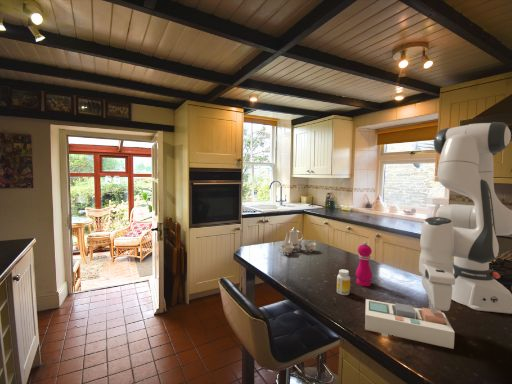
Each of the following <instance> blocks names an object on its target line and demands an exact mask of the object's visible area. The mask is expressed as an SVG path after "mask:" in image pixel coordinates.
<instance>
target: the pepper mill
mask: <svg viewBox="0 0 512 384" xmlns="http://www.w3.org/2000/svg"><path fill="white" fill-rule="evenodd" d="M357 252H358V253H357V254H358V259H359V263H358V267H357V268H356V270H355V277H356V284H357V285H359V286H362V287H369V286H372V285H371V284H372V278H373V273H372V272H373V271H372V269H371V268H370V260H371V255H372V252H373V251H372V248H371V246H370V245H368V243H367V242H366V241H363V242H362V244H360V245H359V246H358V248H357Z"/></svg>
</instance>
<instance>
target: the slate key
mask: <svg viewBox="0 0 512 384" xmlns="http://www.w3.org/2000/svg"><path fill="white" fill-rule="evenodd" d="M394 304H395V314H396V316H401V317H406V318H411V319H415V311H414V308H415V307H414V306H413V305H411V304H410V305H409V304H404V303H398V302H394Z"/></svg>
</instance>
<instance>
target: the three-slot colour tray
mask: <svg viewBox="0 0 512 384" xmlns="http://www.w3.org/2000/svg"><path fill="white" fill-rule="evenodd" d="M370 303H376V304H381V305H386V308H387V314H385V313H380V312H374V311H370ZM413 308H414V311H415V319H411V318H406V317H401V316H396V314H395V303H390V302H383V301H379V300H377V301H376V300H373V299H367V298H365V310H364V311H365V314H364V316H365V317H364V318H365V319H364V320H365V321H364V322H365V323H364V330H366V331H370V332H375V333H379V334H384V335H388V334H389V335H388V336H392V335H393V337H398V338H403V339H406V340H412V341H416V342H421V343H426V344H429V345H434V346H438V347H443V348H448V349H453V350H455V348H454V347H455V333H456V332H455V331H454V329H453V327H452V325H451V324H450V322H449V320H448V318H447V316H446V314H445V313H444V312H442V314H443V316H444V318H445V325H442V324H437V323H432V322H427V321H423V318H422V308H418V307H413Z"/></svg>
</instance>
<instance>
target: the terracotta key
mask: <svg viewBox="0 0 512 384" xmlns="http://www.w3.org/2000/svg"><path fill="white" fill-rule="evenodd" d="M421 309H422V318H423V321H427V322H432V323H437V324H442V325H445V318H444V316H443V314H442V313H443V312H442V310H438V312H437V313H432V312H431V311H430V309H429V307H421Z"/></svg>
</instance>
